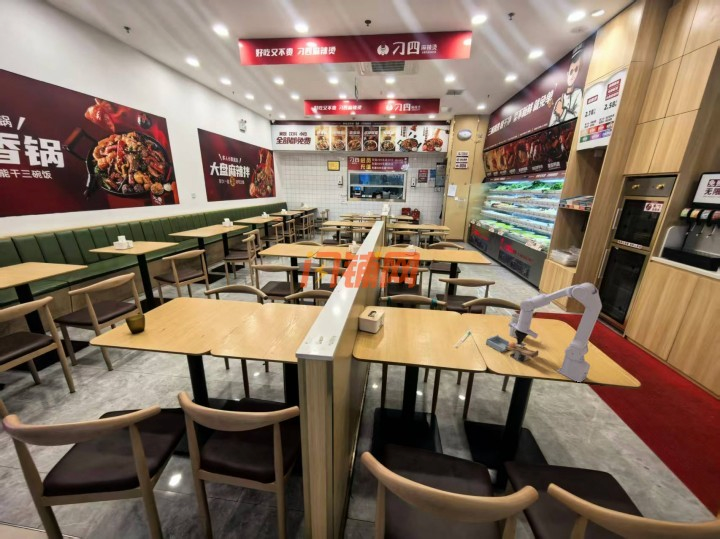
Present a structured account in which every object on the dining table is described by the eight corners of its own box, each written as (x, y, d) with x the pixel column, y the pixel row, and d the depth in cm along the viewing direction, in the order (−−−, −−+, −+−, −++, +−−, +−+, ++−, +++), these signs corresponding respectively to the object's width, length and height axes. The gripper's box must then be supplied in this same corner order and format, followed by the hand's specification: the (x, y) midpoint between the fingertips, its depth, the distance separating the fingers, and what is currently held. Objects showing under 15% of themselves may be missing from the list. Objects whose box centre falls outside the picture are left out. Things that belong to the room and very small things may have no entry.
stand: (529, 358, 143) (531, 350, 141) (521, 362, 139) (523, 354, 138) (518, 352, 148) (520, 344, 146) (510, 356, 144) (511, 348, 143)
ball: (517, 346, 146) (515, 341, 146) (513, 348, 144) (512, 342, 144) (511, 346, 148) (510, 340, 149) (508, 347, 147) (506, 342, 147)
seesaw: (545, 351, 141) (546, 346, 141) (532, 358, 135) (532, 353, 135) (518, 342, 153) (518, 338, 153) (505, 348, 147) (505, 344, 147)
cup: (524, 339, 161) (528, 320, 158) (509, 337, 163) (513, 318, 159) (519, 332, 169) (523, 314, 165) (505, 330, 170) (509, 312, 167)
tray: (511, 348, 152) (512, 342, 151) (501, 352, 147) (502, 347, 146) (496, 340, 159) (497, 334, 158) (485, 344, 155) (486, 338, 154)
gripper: (543, 325, 142) (537, 348, 146) (515, 313, 154) (511, 335, 158) (535, 328, 139) (529, 352, 143) (508, 316, 151) (503, 338, 155)
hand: (519, 343), depth 150 cm, fingers closed
